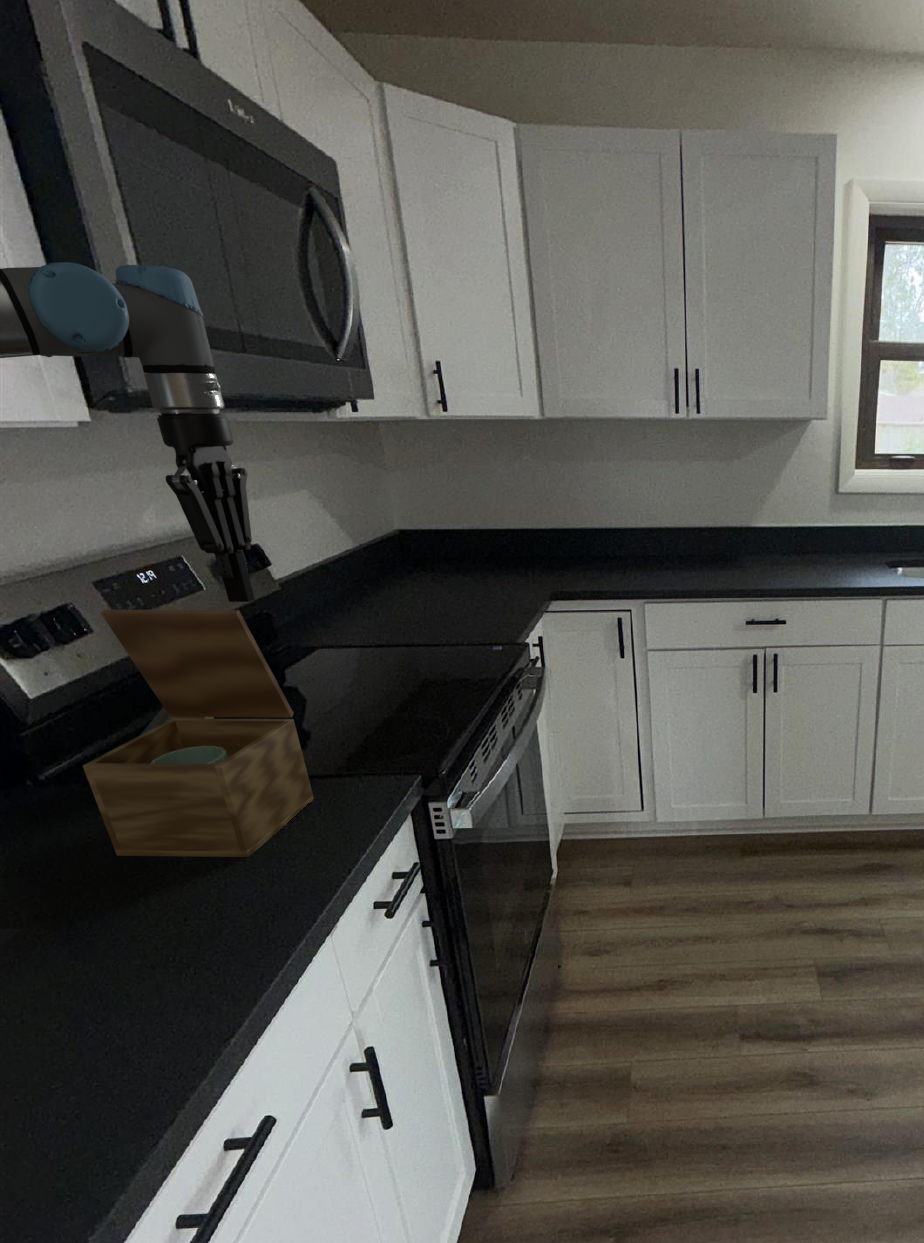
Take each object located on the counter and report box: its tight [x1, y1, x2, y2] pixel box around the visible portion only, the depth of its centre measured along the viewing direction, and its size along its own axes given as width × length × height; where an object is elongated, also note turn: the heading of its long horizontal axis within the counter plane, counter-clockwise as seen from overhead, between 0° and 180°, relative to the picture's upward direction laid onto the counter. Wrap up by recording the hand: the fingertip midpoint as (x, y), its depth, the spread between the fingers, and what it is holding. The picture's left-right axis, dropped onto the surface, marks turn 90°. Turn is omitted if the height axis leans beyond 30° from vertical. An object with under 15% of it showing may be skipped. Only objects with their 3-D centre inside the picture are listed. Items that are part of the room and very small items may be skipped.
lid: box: [100, 609, 295, 719], centre depth 102 cm, size 16×17×1 cm
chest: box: [82, 718, 315, 858], centre depth 104 cm, size 16×17×12 cm
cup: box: [150, 746, 228, 764], centre depth 102 cm, size 8×8×10 cm
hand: (242, 600), depth 110 cm, fingers closed
